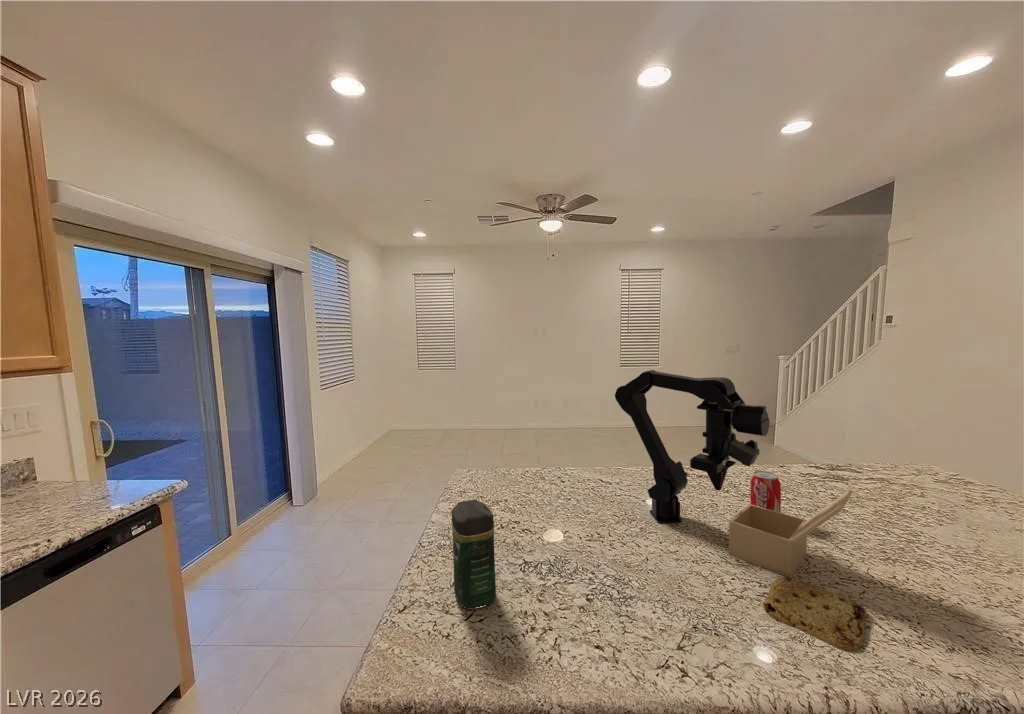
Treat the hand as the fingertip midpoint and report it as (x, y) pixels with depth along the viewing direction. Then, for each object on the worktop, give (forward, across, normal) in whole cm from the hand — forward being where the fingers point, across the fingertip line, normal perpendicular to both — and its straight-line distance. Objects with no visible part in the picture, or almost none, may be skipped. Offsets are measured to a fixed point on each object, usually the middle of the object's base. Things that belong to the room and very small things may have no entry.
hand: (718, 489), depth 98 cm
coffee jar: (+12, -58, +25) cm, 64 cm away
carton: (+12, 0, -11) cm, 16 cm away
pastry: (+13, -15, -23) cm, 30 cm away
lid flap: (-1, 0, -21) cm, 21 cm away
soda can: (+12, +19, -5) cm, 23 cm away
